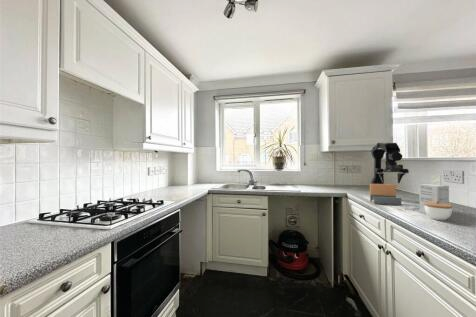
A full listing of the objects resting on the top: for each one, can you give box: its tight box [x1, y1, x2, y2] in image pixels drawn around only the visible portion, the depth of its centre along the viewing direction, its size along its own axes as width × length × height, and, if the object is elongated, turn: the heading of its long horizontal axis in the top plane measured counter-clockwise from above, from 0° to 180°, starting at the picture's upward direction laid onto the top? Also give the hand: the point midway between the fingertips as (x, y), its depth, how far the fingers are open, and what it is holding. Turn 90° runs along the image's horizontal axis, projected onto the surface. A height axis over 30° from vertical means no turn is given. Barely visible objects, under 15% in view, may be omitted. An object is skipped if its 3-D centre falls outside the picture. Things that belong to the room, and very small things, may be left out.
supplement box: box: [418, 183, 450, 215], centre depth 117 cm, size 10×9×17 cm
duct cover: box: [369, 183, 397, 197], centre depth 149 cm, size 8×16×1 cm
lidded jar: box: [424, 201, 453, 221], centre depth 108 cm, size 11×11×9 cm
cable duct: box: [369, 194, 402, 206], centre depth 145 cm, size 9×16×5 cm, turn 73°
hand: (390, 183), depth 142 cm, fingers open, 9 cm apart
